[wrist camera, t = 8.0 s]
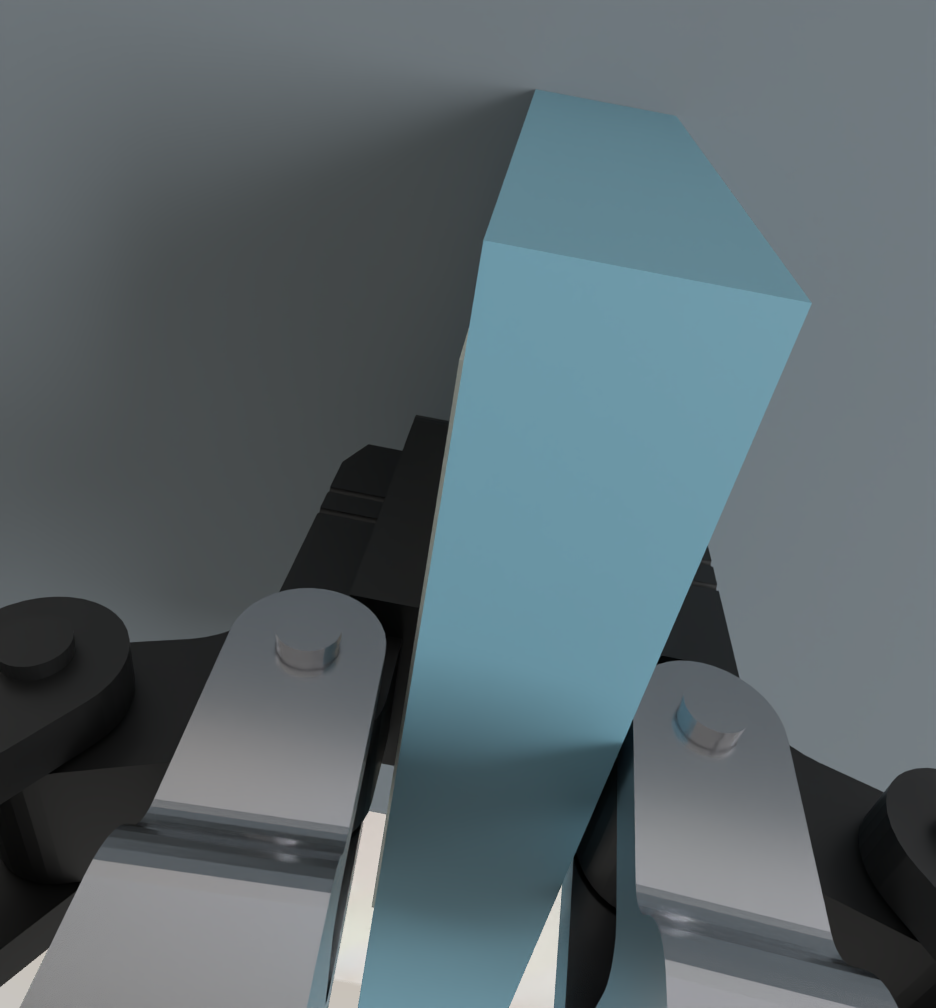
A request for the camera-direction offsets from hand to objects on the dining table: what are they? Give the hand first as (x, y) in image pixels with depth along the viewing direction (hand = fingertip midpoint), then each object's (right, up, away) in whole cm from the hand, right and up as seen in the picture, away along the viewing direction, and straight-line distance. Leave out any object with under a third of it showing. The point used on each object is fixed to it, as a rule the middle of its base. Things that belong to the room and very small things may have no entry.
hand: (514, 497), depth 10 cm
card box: (0, +1, +1) cm, 1 cm away
